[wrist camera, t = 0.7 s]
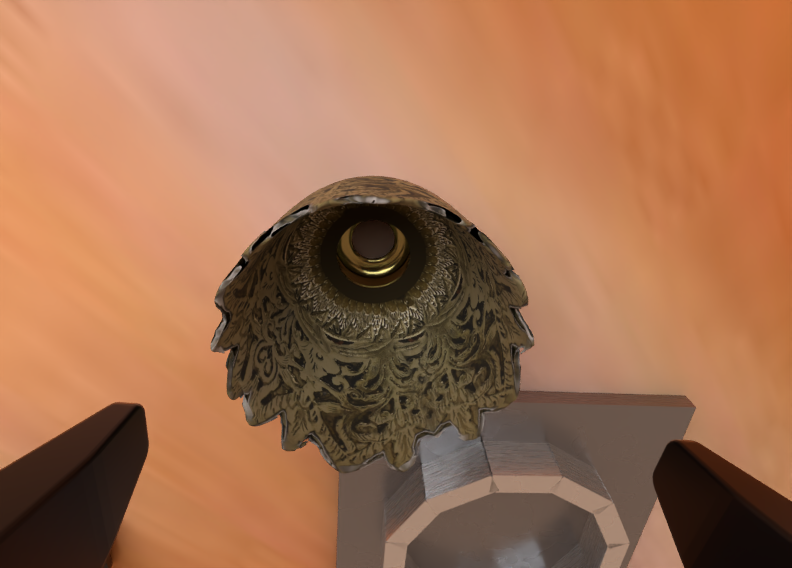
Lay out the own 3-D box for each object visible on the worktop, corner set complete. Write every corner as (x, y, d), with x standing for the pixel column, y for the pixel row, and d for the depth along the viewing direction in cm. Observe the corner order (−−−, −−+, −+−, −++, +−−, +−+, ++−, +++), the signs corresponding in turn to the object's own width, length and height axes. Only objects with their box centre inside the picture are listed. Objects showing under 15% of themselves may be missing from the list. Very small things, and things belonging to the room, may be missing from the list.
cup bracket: (335, 606, 28) (332, 661, 25) (342, 386, 21) (338, 430, 19) (598, 605, 29) (620, 657, 27) (685, 396, 22) (725, 439, 20)
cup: (420, 99, 16) (461, 132, 9) (498, 274, 19) (575, 406, 12) (235, 197, 17) (137, 298, 10) (335, 348, 20) (316, 510, 13)
